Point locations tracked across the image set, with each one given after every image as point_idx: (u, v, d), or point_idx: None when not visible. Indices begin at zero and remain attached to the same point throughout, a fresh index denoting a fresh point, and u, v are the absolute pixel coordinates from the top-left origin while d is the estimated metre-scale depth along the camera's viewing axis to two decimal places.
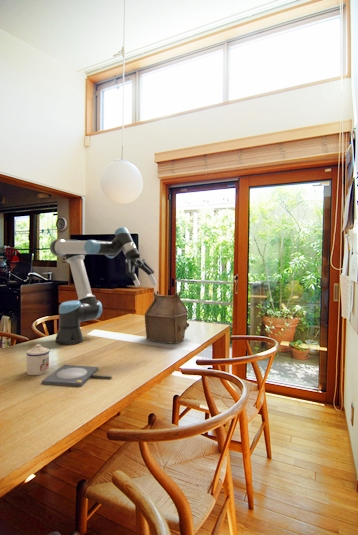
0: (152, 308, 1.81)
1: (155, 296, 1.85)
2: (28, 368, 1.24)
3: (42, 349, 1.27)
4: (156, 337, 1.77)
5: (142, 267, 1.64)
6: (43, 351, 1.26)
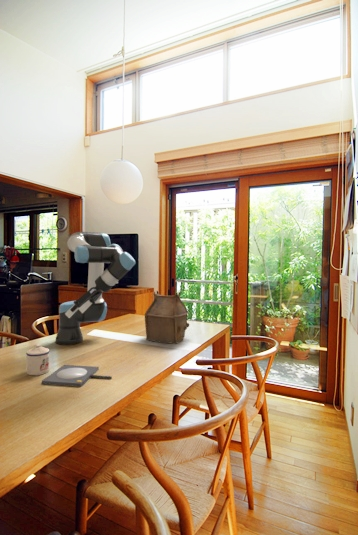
0: (152, 308, 1.81)
1: (155, 296, 1.85)
2: (28, 368, 1.24)
3: (42, 349, 1.27)
4: (156, 337, 1.77)
5: None
6: (43, 351, 1.26)
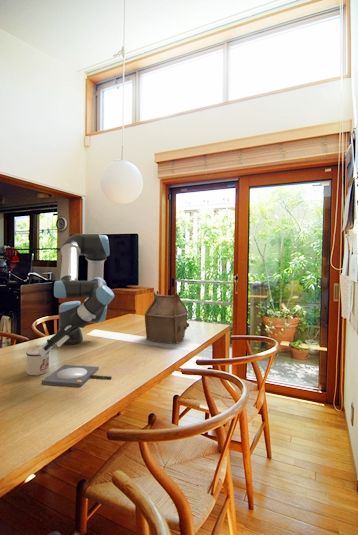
0: (152, 308, 1.81)
1: (155, 296, 1.85)
2: (28, 368, 1.24)
3: None
4: (156, 337, 1.77)
5: None
6: None
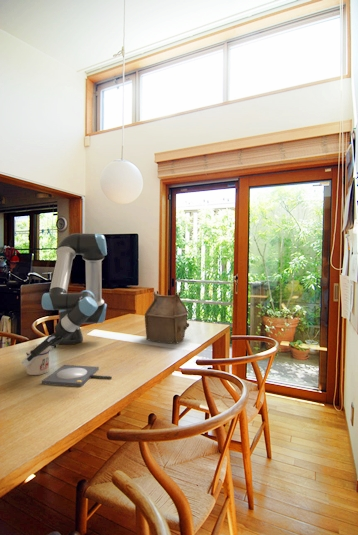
0: (152, 308, 1.81)
1: (155, 296, 1.85)
2: (28, 368, 1.24)
3: None
4: (156, 338, 1.77)
5: None
6: (43, 351, 1.26)
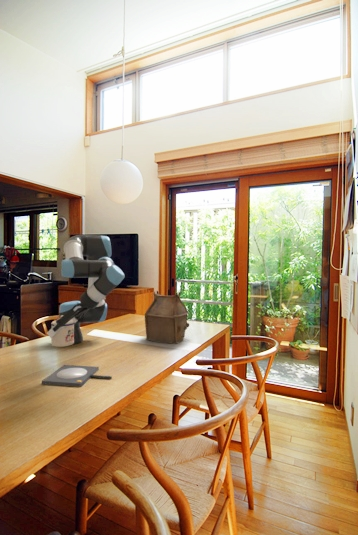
0: (152, 308, 1.81)
1: (155, 296, 1.85)
2: (53, 339, 1.19)
3: None
4: (156, 337, 1.77)
5: None
6: (68, 322, 1.21)
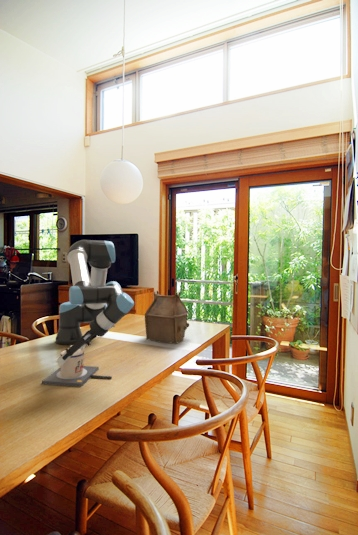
0: (152, 308, 1.81)
1: (155, 296, 1.85)
2: (63, 370, 1.19)
3: (77, 350, 1.21)
4: (156, 337, 1.77)
5: None
6: (78, 352, 1.20)
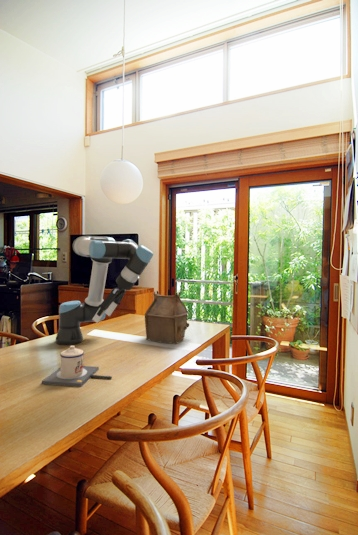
0: (152, 308, 1.81)
1: (155, 296, 1.85)
2: (63, 370, 1.19)
3: (76, 351, 1.21)
4: (156, 337, 1.77)
5: None
6: (78, 353, 1.20)
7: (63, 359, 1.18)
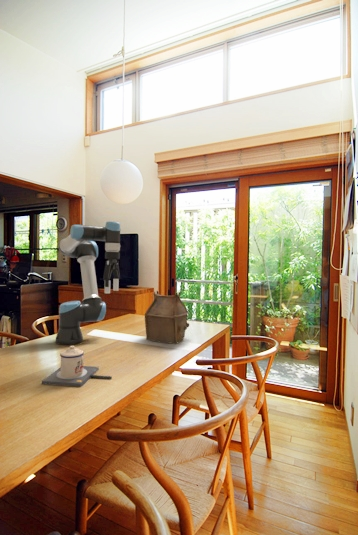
0: (152, 308, 1.81)
1: (155, 296, 1.85)
2: (63, 370, 1.19)
3: (76, 351, 1.21)
4: (156, 338, 1.77)
5: (114, 270, 1.59)
6: (78, 353, 1.20)
7: (63, 359, 1.18)
